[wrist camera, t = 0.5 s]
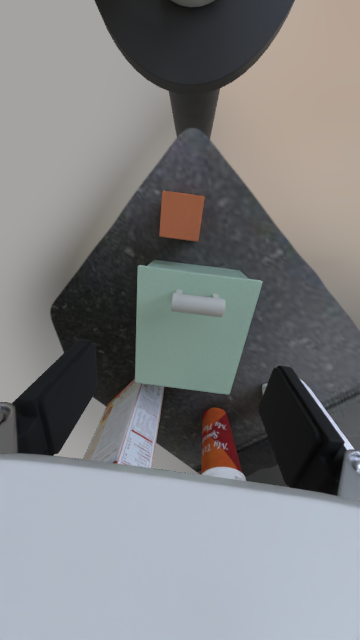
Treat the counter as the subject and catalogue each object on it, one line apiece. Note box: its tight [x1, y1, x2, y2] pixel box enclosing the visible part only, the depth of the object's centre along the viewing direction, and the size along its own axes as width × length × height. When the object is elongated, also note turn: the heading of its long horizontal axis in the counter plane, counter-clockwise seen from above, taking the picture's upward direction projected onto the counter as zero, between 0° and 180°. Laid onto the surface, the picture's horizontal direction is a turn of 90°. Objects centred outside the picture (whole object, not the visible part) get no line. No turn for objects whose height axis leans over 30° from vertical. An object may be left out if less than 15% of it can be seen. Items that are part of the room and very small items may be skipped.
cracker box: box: [83, 379, 165, 468], centre depth 34 cm, size 14×6×21 cm, turn 138°
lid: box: [135, 265, 263, 395], centre depth 23 cm, size 16×14×5 cm
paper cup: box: [202, 408, 246, 481], centre depth 39 cm, size 8×8×14 cm
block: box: [159, 191, 205, 241], centre depth 27 cm, size 5×5×5 cm
